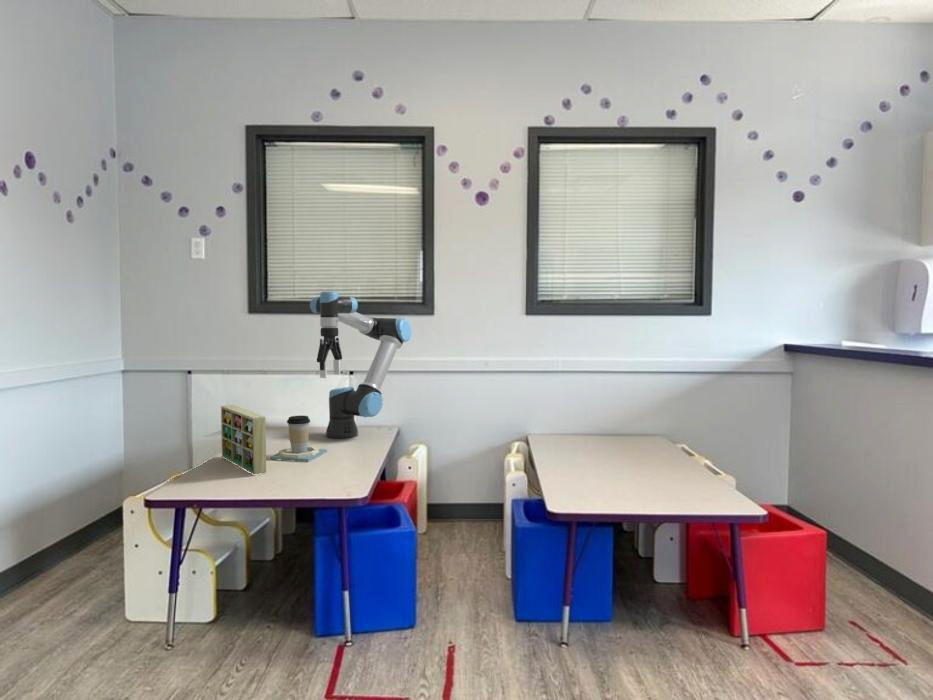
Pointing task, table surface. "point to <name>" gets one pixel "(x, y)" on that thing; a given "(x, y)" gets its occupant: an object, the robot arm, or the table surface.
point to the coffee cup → (298, 433)
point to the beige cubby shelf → (244, 438)
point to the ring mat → (310, 455)
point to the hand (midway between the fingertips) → (330, 376)
